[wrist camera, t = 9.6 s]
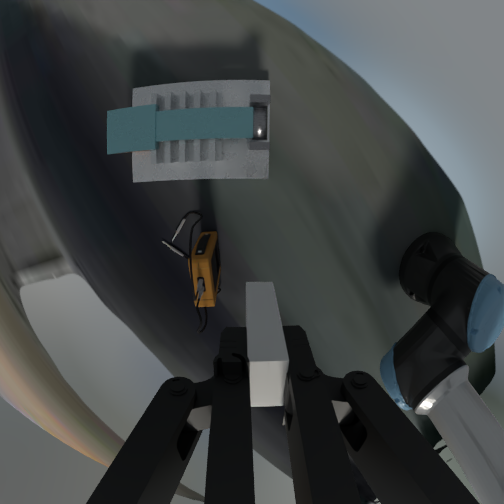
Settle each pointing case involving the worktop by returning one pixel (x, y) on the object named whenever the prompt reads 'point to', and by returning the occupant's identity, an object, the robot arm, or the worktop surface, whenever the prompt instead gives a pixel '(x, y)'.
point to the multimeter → (203, 268)
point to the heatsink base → (232, 145)
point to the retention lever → (181, 125)
